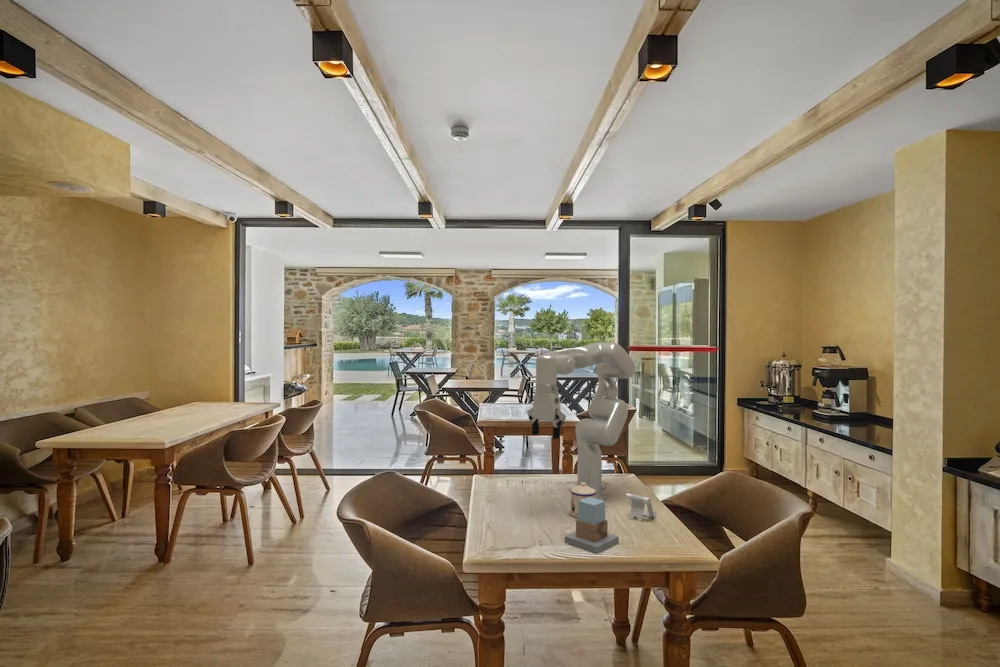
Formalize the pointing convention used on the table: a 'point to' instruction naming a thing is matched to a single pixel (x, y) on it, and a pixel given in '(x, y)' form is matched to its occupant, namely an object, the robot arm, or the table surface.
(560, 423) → the robot arm
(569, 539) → the slate base
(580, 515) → the cube
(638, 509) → the portable electronic device stand
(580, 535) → the walnut block
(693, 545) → the table surface
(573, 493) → the teacup with lid
